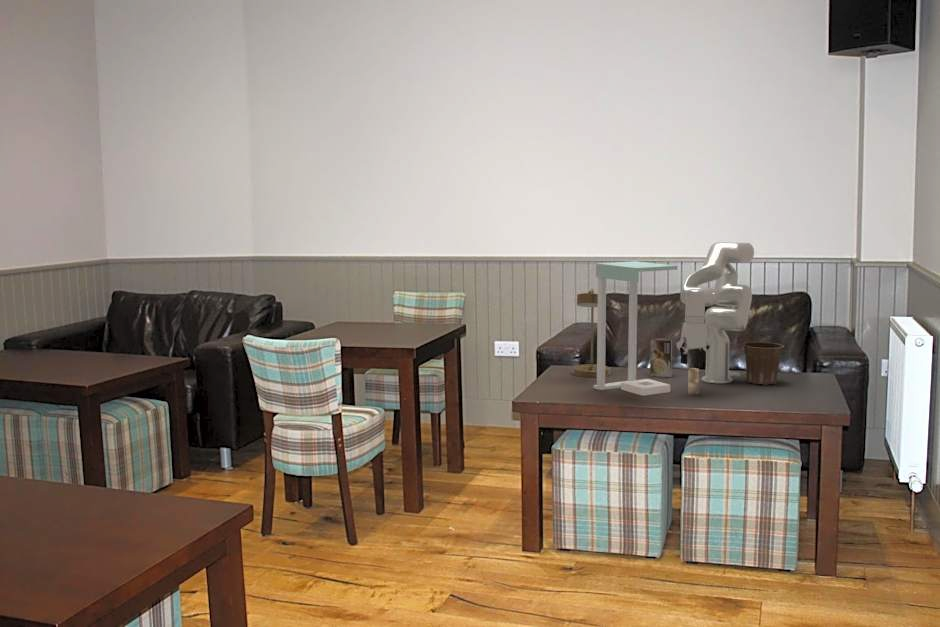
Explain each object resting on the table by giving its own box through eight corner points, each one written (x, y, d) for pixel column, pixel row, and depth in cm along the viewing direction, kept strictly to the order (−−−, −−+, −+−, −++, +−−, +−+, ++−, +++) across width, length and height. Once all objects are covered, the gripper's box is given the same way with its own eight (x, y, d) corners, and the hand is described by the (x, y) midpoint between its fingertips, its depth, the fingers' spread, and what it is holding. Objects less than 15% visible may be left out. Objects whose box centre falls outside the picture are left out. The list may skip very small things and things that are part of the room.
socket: (647, 385, 403) (647, 378, 403) (670, 392, 391) (670, 384, 391) (620, 389, 396) (621, 382, 396) (642, 395, 384) (642, 388, 384)
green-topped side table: (631, 383, 409) (633, 261, 402) (674, 394, 386) (677, 265, 379) (593, 388, 400) (594, 263, 393) (634, 400, 376) (636, 268, 369)
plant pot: (777, 378, 416) (779, 341, 413) (786, 386, 400) (787, 348, 397) (738, 378, 417) (740, 341, 415) (745, 386, 401) (746, 347, 399)
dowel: (696, 392, 390) (697, 367, 389) (699, 394, 386) (700, 369, 385) (687, 392, 390) (687, 368, 389) (689, 394, 386) (689, 369, 385)
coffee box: (672, 374, 426) (673, 338, 424) (671, 377, 420) (671, 340, 418) (651, 373, 429) (651, 337, 427) (649, 376, 423) (650, 340, 421)
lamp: (567, 381, 414) (568, 292, 409) (573, 369, 440) (573, 286, 435) (608, 382, 410) (609, 293, 405) (611, 370, 437) (612, 286, 432)
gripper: (704, 318, 391) (703, 360, 393) (671, 320, 383) (670, 363, 385) (717, 320, 385) (716, 362, 387) (684, 322, 377) (682, 365, 378)
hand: (693, 362), depth 386 cm, fingers open, 9 cm apart
